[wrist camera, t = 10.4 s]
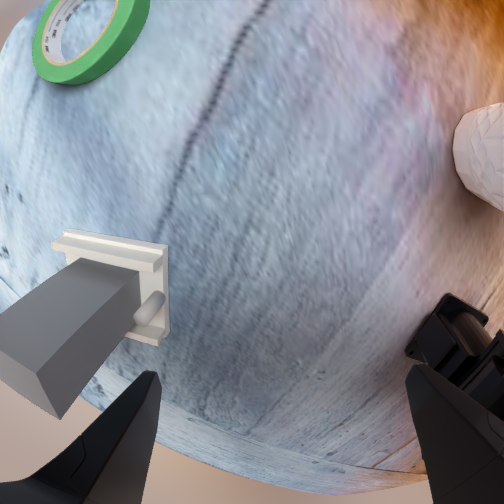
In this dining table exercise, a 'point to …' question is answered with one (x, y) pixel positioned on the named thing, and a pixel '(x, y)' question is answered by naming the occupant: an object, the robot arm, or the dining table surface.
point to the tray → (136, 258)
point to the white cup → (482, 153)
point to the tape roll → (94, 57)
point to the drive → (66, 331)
